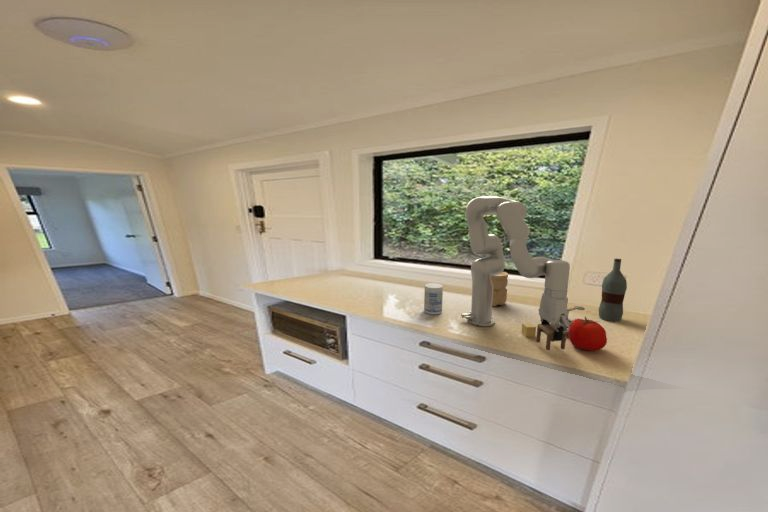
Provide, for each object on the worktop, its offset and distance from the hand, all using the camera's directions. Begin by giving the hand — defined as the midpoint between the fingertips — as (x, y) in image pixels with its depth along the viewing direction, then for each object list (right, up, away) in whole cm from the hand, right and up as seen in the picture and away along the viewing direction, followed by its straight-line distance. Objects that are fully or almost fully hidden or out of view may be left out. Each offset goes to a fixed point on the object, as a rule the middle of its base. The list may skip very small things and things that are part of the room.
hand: (550, 335), depth 109 cm
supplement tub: (-39, +1, +40) cm, 56 cm away
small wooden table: (0, -4, +1) cm, 4 cm away
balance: (+20, -1, +22) cm, 30 cm away
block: (-2, -3, +13) cm, 13 cm away
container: (-2, +4, +51) cm, 51 cm away
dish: (+10, -3, +15) cm, 18 cm away
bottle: (+45, 0, +27) cm, 53 cm away
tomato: (+14, -5, +1) cm, 15 cm away
